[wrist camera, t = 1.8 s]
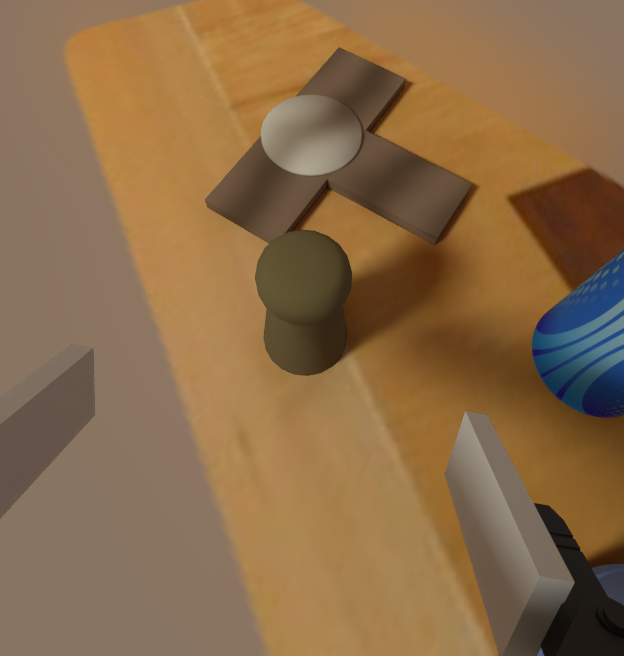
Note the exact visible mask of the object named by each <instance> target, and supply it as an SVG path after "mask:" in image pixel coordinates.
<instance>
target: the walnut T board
mask: <svg viewBox="0 0 624 656" xmlns="http://www.w3.org/2000/svg"><path fill="white" fill-rule="evenodd" d="M405 80H406V78H403V77H401V76H399V75H397V74H395V73H393V72H391V71H388V70H386V69H384V68H382V67H380V66H378V65H376V64H374V63H371V62H369V61H367V60H365V59H363V58H361V57H359V56H357V55H354V54H352V53H350V52H348V51H346V50H344V49H342V48H340V47H339V48H338V49H337V50H336V51H335V52H334V54H333V55H332V56H331V57H330V58H329V59H328V60H327V62H326V63H325V64H324V65H323V66H322V67H321V68H320V70H319V71H318V72H317V73H316V74H315V75H314V76H313V77H312V79H311V80H310V81H309V82H308V83H307V84H306V85H305V87H304V88H303V89H302V90H301V91H300V92H299V93H298V95H297V96H296V97H293V98H290V99H287V100H285V101H283V102H281V103H280V104H278V105H277V106H275V107H274V108H273V109H272V110H271V111H270V112H269V113H268V115H267V116H266V118H265V120H264V122H263V125H262V129H261V137H260V138H259V139H258V140H257V141H256V142H255V143H254V144H253V146H252V147H251V148H250V149H249V150H248V151H247V152H246V154H245V155H244V156H243V157H242V158H241V159H240V160H239V162H238V163H237V164H236V165H235V166H234V167H233V168H232V169H231V171H230V172H229V173H228V174H227V175H226V176H225V177H224V179H223V180H222V181H221V182H220V183H219V184H218V185H217V187H216V188H215V189H214V190H213V191H212V192H211V193H210V194H209V196H208V197H207V198H206V199H205V202H206V204H207V207H208V208H210V209H211V210H213V211H215V212H216V213H218V214H220V215H222V216H223V217H225V218H227V219H228V220H230V221H232V222H234V223H235V224H237V225H239V226H240V227H242V228H244V229H246V230H247V231H249V232H251V233H252V234H254V235H256V236H258V237H259V238H261V239H263V240H264V241H266V242H268V243H271V242H272V241H273V240H274V239H275V238H277V237H279V236H282V235H284V234H286V233H288V232H291V231H293V230H294V228H295V227H296V226H297V225H298V223H299V222H300V221H301V219H302V218H303V217H304V216H305V214H306V213H307V212H308V210H309V209H310V208H311V207H312V205H313V204H314V203H315V201H316V200H317V199H318V198H319V196H320V195H321V194H322V192H323V191H324V190H325V189H326V187H328V188H330V189H332V190H334V191H335V192H337V193H339V194H341V195H343V196H345V197H347V198H348V199H350V200H352V201H354V202H356V203H358V204H359V205H361V206H363V207H365V208H367V209H369V210H371V211H372V212H374V213H376V214H378V215H380V216H382V217H384V218H385V219H387V220H389V221H391V222H393V223H395V224H397V225H398V226H400V227H402V228H404V229H406V230H408V231H409V232H411V233H413V234H415V235H417V236H419V237H421V238H422V239H424V240H426V241H428V242H430V243H432V244H434V245H435V243H436V241H437V240H438V238H439V237H440V235H441V234H442V232H443V231H444V229H445V227H446V226H447V224H448V223H449V221H450V220H451V218H452V217H453V215H454V213H455V212H456V210H457V209H458V207H459V206H460V204H461V203H462V201H463V199H464V198H465V196H466V195H467V193H468V192H469V190H470V188H471V186H472V184H471V183H469V182H467V181H465V180H463V179H461V178H459V177H457V176H455V175H453V174H452V173H450V172H448V171H446V170H444V169H442V168H440V167H438V166H436V165H434V164H432V163H430V162H428V161H426V160H424V159H422V158H420V157H418V156H416V155H414V154H412V153H410V152H408V151H406V150H404V149H402V148H400V147H398V146H396V145H394V144H392V143H390V142H388V141H386V140H384V139H382V138H380V137H378V136H376V135H374V134H372V133H370V131H371V129H372V128H373V127H374V126H375V124H376V123H377V122H378V120H379V119H380V118H381V117H382V115H383V114H384V113H385V111H386V110H387V109H388V108H389V106H390V105H391V104H392V102H393V101H394V100H395V99H396V97H397V96H398V95H399V93H400V92H401V91H402V90H403V88H404V85H405Z"/></svg>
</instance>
